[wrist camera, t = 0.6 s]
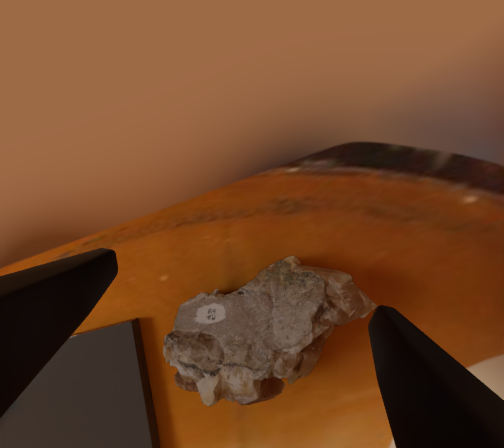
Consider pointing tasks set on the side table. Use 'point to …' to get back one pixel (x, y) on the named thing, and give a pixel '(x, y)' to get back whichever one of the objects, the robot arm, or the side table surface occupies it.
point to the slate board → (87, 396)
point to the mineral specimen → (260, 331)
